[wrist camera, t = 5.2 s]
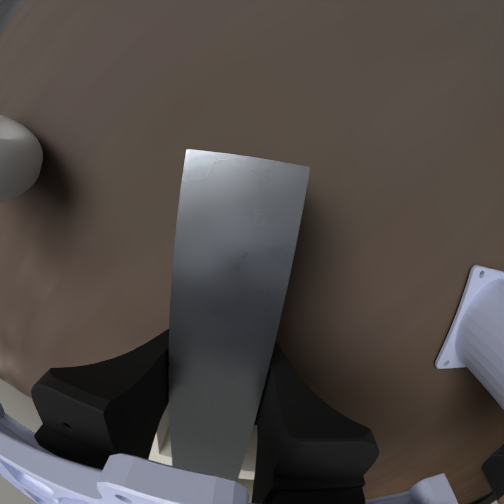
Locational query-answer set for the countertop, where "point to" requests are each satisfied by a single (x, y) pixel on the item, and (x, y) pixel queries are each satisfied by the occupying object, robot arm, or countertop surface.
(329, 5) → the countertop surface
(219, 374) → the rail
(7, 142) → the donut
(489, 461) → the travel mug
